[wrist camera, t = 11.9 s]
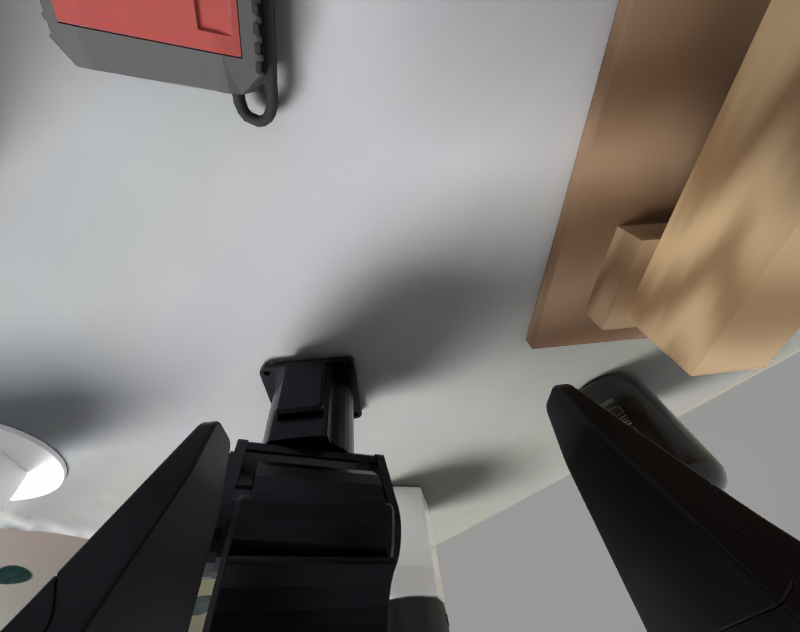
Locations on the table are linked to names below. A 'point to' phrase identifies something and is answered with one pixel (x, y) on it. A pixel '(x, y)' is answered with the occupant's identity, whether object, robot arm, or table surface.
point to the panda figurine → (27, 466)
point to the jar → (416, 570)
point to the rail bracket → (637, 158)
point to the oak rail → (736, 222)
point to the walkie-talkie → (175, 43)
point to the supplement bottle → (654, 422)
